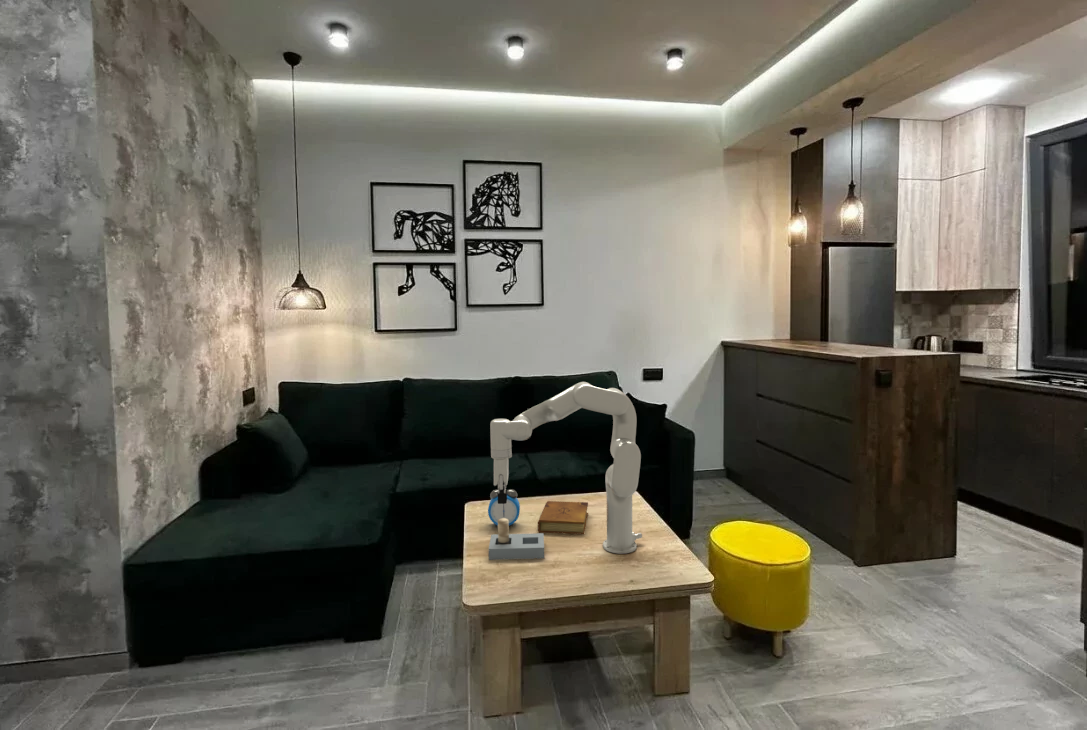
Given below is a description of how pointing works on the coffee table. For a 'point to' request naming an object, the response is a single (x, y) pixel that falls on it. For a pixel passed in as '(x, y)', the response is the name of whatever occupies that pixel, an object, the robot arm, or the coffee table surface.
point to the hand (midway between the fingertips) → (502, 501)
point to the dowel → (503, 531)
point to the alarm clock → (504, 507)
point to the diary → (563, 517)
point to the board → (517, 547)
